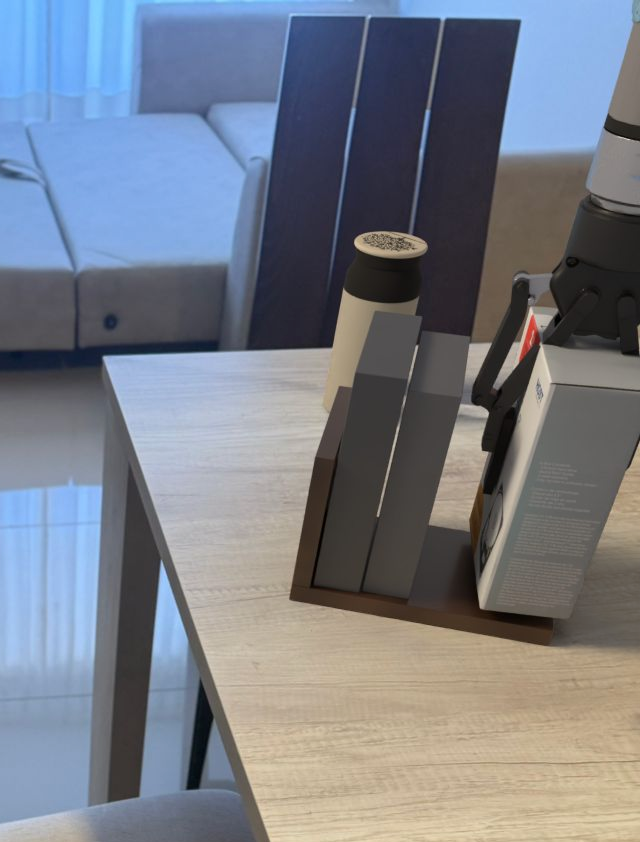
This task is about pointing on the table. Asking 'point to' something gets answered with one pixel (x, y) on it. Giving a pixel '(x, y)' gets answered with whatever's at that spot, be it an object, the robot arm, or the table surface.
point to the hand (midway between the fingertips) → (540, 494)
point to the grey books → (371, 449)
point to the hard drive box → (556, 473)
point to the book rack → (435, 575)
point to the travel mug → (372, 297)
